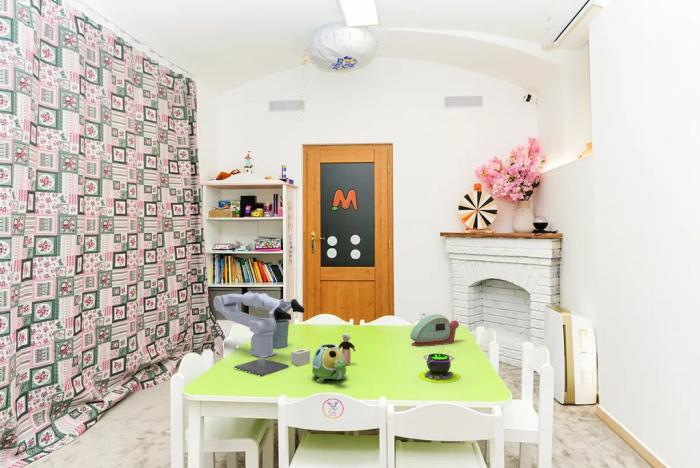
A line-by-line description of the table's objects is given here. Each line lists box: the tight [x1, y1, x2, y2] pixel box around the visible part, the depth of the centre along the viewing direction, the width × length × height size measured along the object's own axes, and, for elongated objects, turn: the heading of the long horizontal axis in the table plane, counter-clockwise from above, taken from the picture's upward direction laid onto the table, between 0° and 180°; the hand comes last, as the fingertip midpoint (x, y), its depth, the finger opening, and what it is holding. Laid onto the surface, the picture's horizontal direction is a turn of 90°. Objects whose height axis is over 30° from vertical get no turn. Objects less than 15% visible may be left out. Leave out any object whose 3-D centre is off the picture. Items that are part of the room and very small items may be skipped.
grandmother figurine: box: [337, 332, 357, 366], centre depth 187 cm, size 8×4×13 cm, turn 82°
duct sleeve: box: [290, 348, 311, 367], centre depth 189 cm, size 6×4×5 cm
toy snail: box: [409, 314, 460, 347], centre depth 220 cm, size 25×8×14 cm, turn 107°
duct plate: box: [233, 356, 290, 377], centre depth 183 cm, size 16×14×4 cm
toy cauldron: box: [417, 345, 461, 384], centre depth 170 cm, size 15×15×11 cm
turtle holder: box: [311, 343, 348, 384], centre depth 168 cm, size 12×18×12 cm
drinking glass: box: [273, 319, 290, 350], centre depth 217 cm, size 10×10×12 cm
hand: (297, 313), depth 190 cm, fingers open, 7 cm apart
